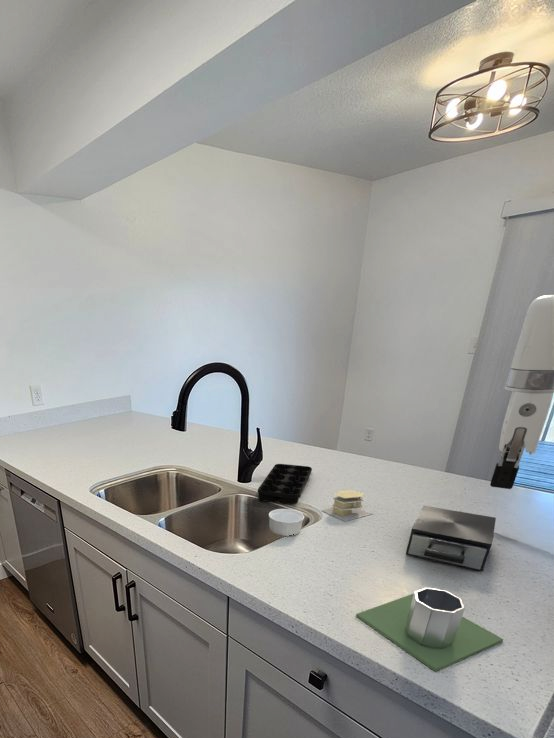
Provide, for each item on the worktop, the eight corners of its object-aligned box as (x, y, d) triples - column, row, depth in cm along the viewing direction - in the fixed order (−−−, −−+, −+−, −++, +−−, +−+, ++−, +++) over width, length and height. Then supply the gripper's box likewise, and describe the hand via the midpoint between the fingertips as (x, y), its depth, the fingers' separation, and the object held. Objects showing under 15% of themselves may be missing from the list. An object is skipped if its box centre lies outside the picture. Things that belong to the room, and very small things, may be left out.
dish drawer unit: (482, 571, 92) (492, 544, 89) (405, 554, 100) (411, 528, 97) (487, 542, 103) (496, 517, 100) (417, 529, 111) (423, 505, 108)
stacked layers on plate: (345, 521, 118) (348, 502, 115) (321, 510, 125) (323, 492, 122) (372, 513, 121) (375, 495, 118) (347, 503, 128) (349, 486, 126)
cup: (461, 641, 73) (473, 604, 69) (432, 653, 71) (443, 616, 67) (424, 619, 78) (434, 584, 75) (396, 629, 76) (405, 594, 73)
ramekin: (292, 521, 120) (294, 506, 118) (308, 535, 112) (310, 519, 110) (262, 525, 118) (263, 510, 116) (276, 539, 111) (277, 524, 109)
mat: (502, 642, 73) (503, 639, 73) (435, 671, 68) (436, 669, 68) (417, 594, 86) (418, 591, 86) (355, 616, 81) (356, 613, 81)
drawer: (478, 579, 88) (485, 558, 86) (404, 561, 96) (409, 542, 94) (484, 542, 101) (491, 524, 99) (419, 530, 109) (423, 512, 107)
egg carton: (310, 474, 153) (311, 464, 151) (318, 506, 127) (319, 494, 126) (258, 473, 157) (259, 463, 156) (256, 504, 132) (257, 492, 130)
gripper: (569, 387, 63) (526, 504, 72) (563, 375, 74) (527, 477, 82) (505, 386, 68) (472, 496, 76) (508, 374, 78) (478, 472, 86)
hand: (500, 486), depth 79 cm, fingers closed
